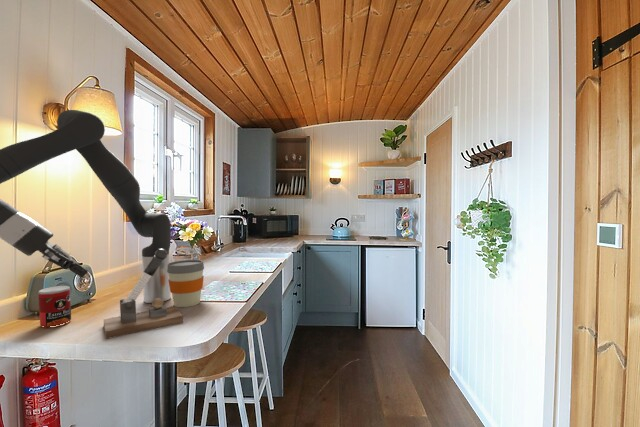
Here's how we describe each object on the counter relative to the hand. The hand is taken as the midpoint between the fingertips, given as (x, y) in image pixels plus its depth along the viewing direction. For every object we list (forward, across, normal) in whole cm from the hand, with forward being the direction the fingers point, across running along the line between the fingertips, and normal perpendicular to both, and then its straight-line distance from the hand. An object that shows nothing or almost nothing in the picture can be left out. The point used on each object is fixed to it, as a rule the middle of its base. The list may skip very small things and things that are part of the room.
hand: (85, 274), depth 92 cm
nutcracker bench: (+22, 0, +2) cm, 22 cm away
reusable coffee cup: (+34, +14, -9) cm, 37 cm away
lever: (+15, 0, +2) cm, 15 cm away
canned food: (+7, +18, +18) cm, 26 cm away
